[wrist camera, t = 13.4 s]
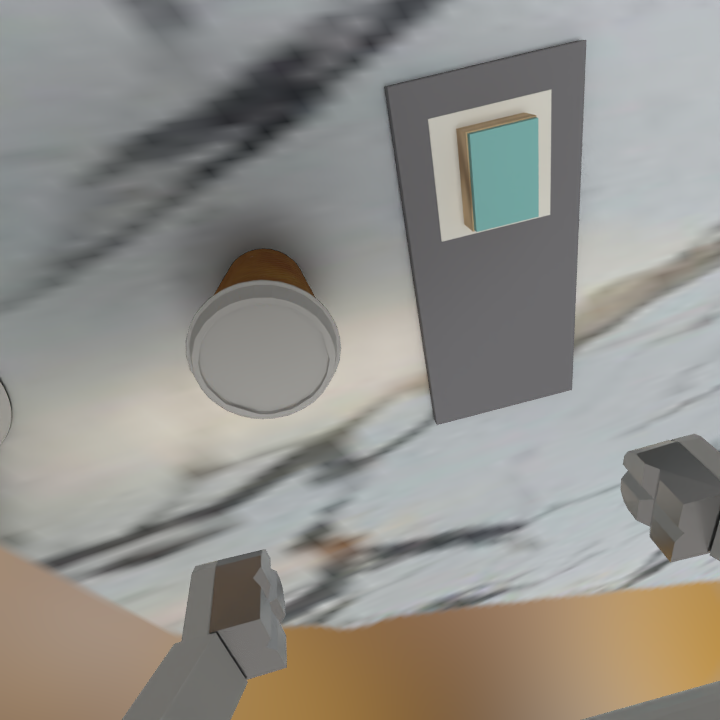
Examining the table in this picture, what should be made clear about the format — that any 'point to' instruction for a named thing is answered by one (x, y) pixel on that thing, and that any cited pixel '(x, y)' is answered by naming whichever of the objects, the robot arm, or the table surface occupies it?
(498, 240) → the rubber mat
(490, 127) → the teal flat block
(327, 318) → the disposable coffee cup
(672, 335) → the table surface
